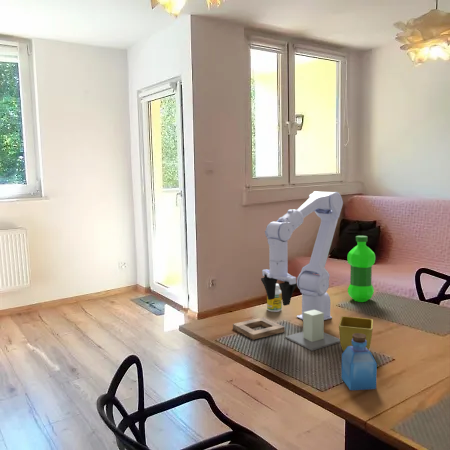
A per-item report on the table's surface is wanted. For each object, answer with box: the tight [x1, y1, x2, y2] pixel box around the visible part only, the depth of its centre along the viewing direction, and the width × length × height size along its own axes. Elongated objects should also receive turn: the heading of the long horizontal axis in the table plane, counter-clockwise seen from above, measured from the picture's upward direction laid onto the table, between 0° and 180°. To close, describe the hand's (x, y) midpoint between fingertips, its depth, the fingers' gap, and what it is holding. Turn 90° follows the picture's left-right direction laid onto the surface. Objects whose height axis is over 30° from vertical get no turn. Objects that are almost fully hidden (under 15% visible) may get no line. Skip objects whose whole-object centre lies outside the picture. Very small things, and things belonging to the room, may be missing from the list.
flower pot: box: [338, 316, 374, 352], centre depth 127 cm, size 9×9×9 cm
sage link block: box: [302, 310, 325, 342], centre depth 137 cm, size 4×4×8 cm
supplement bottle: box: [266, 282, 283, 313], centre depth 167 cm, size 5×5×10 cm
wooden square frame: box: [232, 316, 286, 341], centre depth 147 cm, size 12×12×2 cm
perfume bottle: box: [341, 333, 378, 391], centre depth 109 cm, size 6×6×12 cm
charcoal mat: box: [285, 331, 341, 351], centre depth 138 cm, size 12×12×1 cm
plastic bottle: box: [347, 235, 376, 303], centre depth 176 cm, size 10×10×25 cm
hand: (278, 301), depth 145 cm, fingers open, 7 cm apart
